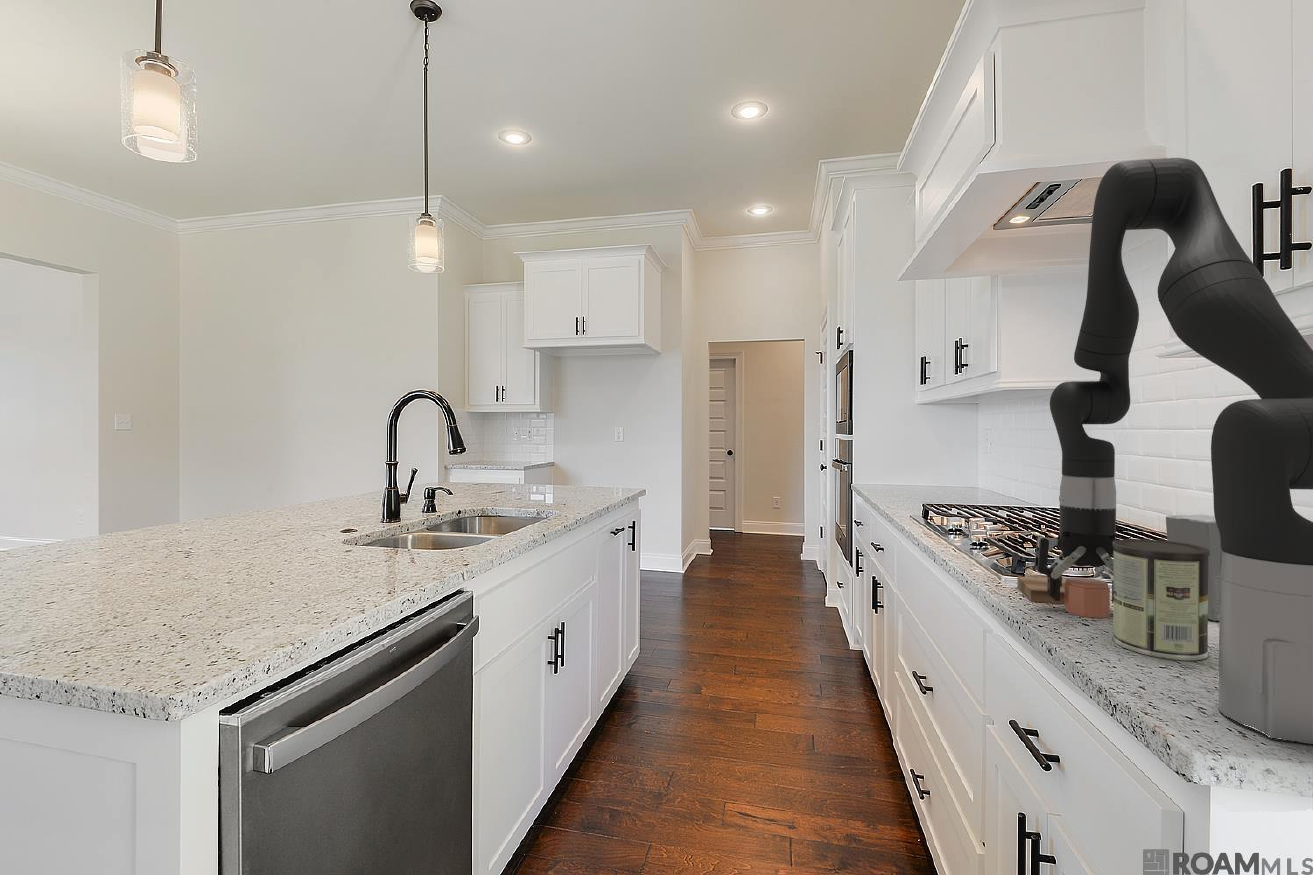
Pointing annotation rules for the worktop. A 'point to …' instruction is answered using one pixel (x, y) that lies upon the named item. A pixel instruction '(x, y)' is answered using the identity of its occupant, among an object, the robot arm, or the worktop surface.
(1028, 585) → the peg block
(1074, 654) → the worktop surface
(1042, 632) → the worktop surface
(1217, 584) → the skincare box
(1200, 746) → the worktop surface
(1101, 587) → the cap
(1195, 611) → the coffee can
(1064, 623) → the worktop surface
